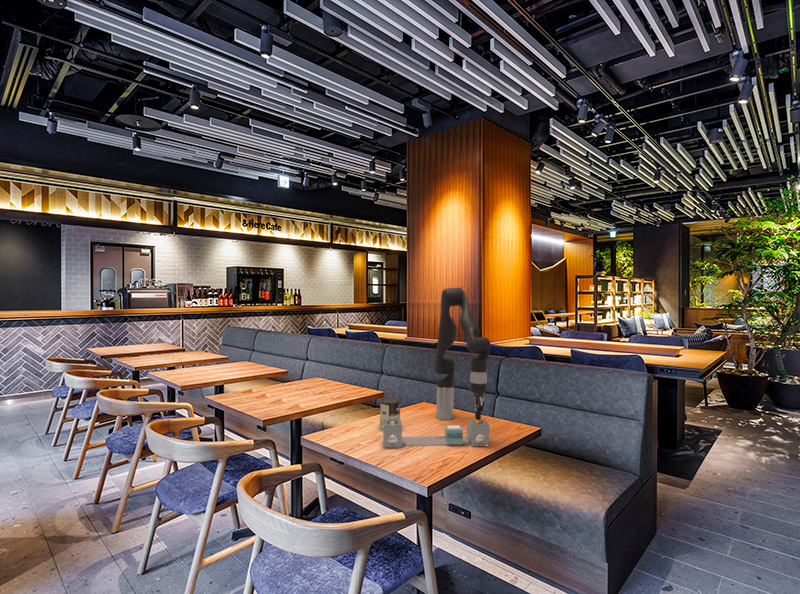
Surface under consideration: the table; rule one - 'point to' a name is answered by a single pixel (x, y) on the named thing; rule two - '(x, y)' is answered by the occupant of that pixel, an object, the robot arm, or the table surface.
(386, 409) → the coffee can
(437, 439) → the rail
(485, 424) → the cabinet
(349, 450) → the table surface
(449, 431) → the carriage
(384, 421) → the cabinet
